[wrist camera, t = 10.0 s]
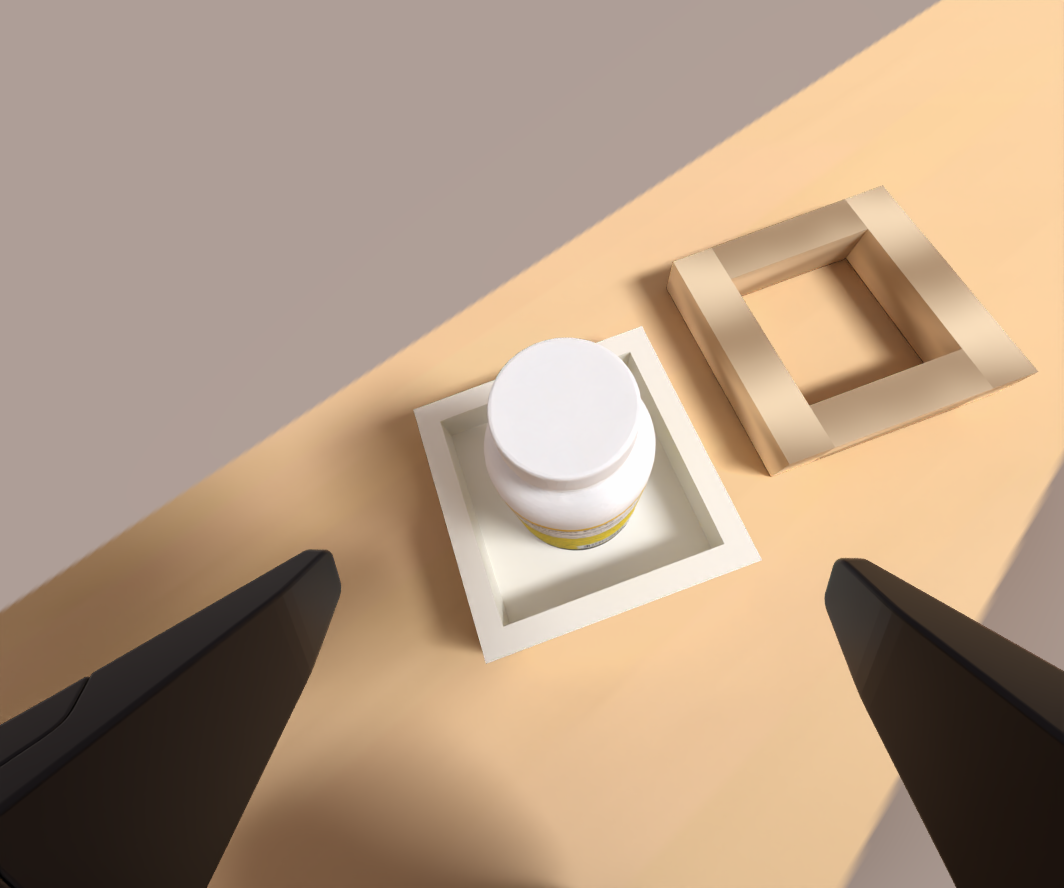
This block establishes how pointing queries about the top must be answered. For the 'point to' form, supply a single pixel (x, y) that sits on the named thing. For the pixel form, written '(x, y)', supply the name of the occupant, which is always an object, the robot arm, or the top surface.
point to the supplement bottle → (569, 442)
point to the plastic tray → (595, 574)
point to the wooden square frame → (899, 286)
